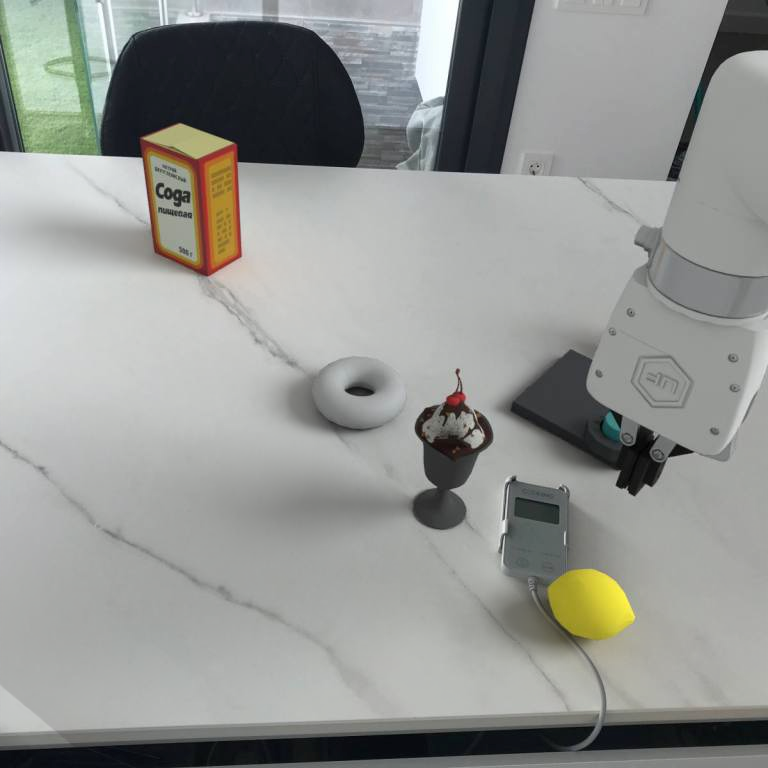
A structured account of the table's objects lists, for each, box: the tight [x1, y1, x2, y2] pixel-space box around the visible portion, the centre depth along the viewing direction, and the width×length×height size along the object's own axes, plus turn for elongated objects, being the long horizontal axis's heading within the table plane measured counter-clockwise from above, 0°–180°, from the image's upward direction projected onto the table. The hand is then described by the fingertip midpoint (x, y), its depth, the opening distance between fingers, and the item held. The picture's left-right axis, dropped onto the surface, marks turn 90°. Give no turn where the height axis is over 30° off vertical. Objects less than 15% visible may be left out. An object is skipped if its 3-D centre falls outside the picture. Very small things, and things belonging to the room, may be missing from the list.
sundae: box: [413, 368, 494, 530], centre depth 67 cm, size 7×7×15 cm
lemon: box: [547, 568, 636, 642], centre depth 62 cm, size 7×5×5 cm
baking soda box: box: [139, 122, 243, 277], centre depth 98 cm, size 10×6×16 cm
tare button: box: [602, 412, 622, 443], centre depth 78 cm, size 3×3×2 cm
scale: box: [510, 348, 623, 472], centre depth 83 cm, size 14×14×3 cm
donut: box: [311, 356, 408, 430], centre depth 81 cm, size 10×4×10 cm
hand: (633, 481), depth 59 cm, fingers closed
